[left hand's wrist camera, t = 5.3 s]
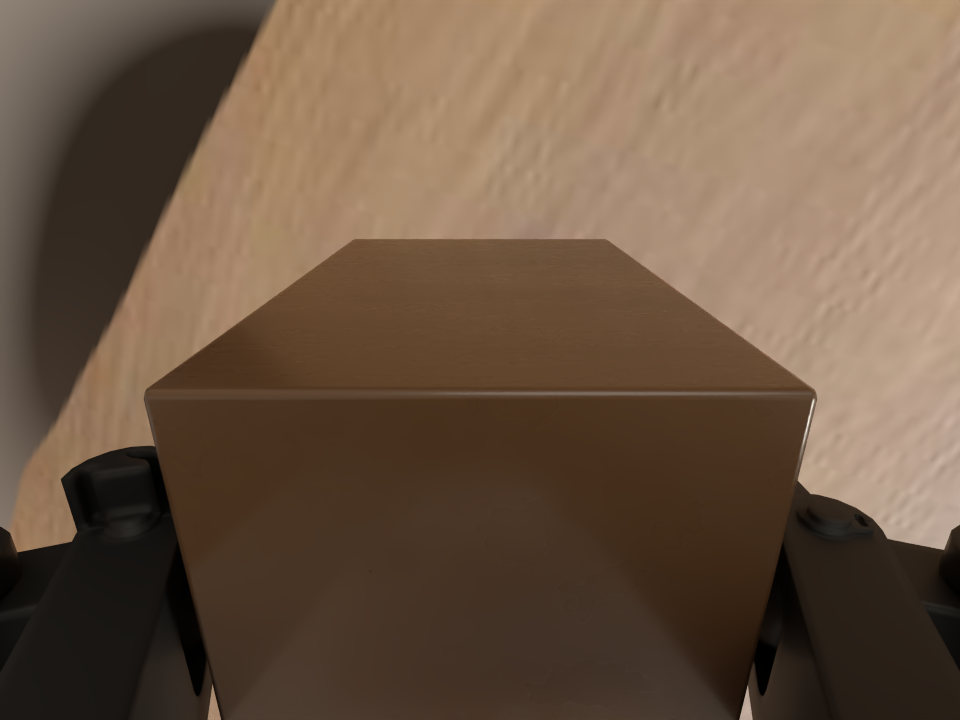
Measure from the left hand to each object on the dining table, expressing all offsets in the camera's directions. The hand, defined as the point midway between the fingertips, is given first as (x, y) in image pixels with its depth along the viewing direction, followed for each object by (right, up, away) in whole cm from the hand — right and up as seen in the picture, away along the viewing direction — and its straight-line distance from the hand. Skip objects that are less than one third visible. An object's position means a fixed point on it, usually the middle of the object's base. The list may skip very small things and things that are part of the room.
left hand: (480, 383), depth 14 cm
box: (0, -6, +3) cm, 7 cm away
